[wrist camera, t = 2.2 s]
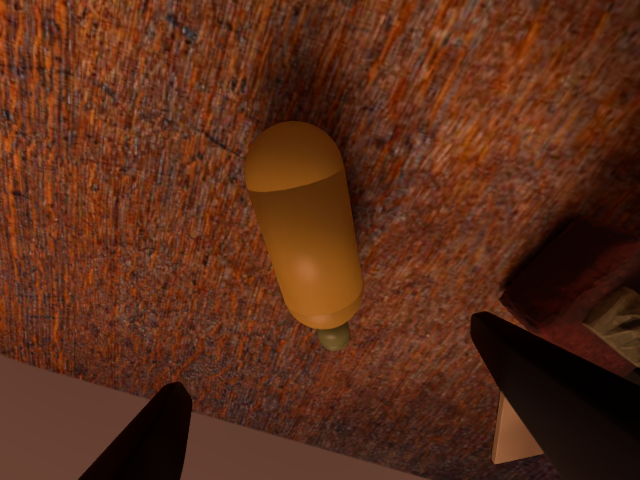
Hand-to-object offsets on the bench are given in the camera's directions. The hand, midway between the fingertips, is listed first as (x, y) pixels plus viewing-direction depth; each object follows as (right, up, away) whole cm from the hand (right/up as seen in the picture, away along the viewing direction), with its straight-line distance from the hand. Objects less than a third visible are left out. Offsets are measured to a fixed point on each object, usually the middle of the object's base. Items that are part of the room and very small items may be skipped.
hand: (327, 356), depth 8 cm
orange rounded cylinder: (-1, +4, +9) cm, 9 cm away
